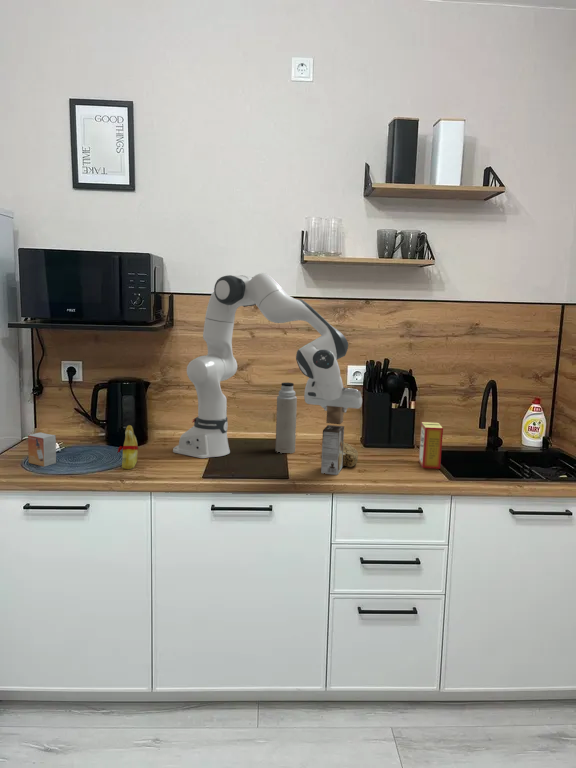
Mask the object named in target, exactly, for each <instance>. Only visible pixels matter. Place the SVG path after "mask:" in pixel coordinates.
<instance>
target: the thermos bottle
mask: <svg viewBox="0 0 576 768" xmlns="http://www.w3.org/2000/svg"><path fill="white" fill-rule="evenodd" d="M280 385H281V387H280V388H281V389H280V390H279V391H278V395H277V396H276V418H275V422H276V424H275V452H276V451H277V452H276V453H278V452H280V453H279V454H282V453H290V454H293V453H296V437H297V435H296V432H297V431H296V429H297V410H298V408H297V405H298V397H297V396H296V395H297V394H296V391H295V390H294V386H295V384H294V383H293V382H281V384H280Z"/></svg>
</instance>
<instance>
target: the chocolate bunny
mask: <svg viewBox="0 0 576 768" xmlns="http://www.w3.org/2000/svg"><path fill="white" fill-rule="evenodd" d="M124 434H125V436H124V441H123V446H121V445H120V446H119V447H118V448H117V453H116V454H119V453H120V452H121V451H122V457H121V468H122V469H123V470H124V469H125V470H131V469H132V470H133V469H134V468H135V465H136V464H137V462H138V450H139V446H138V440H137V437H136V434H135V430H134V427H133V426H132V425H130V424H128V425H127V426H126V428H125V432H124Z"/></svg>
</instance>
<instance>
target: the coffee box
mask: <svg viewBox="0 0 576 768" xmlns="http://www.w3.org/2000/svg"><path fill="white" fill-rule="evenodd" d="M344 433H345V426H344V425H336V424H327V425H326V427H324V429H322V437H321V439H322V441H321V443H322V445H321V462H320V463H321V466H320V468H321V469H320V470H321V471H320V473H321V474H324V473H325V474H326V475H333V476H338V475H339V474H340V472H341V470H342V469H343V466H342V464H343V442H345V441H344V440H345V439H344V437H345V434H344ZM325 474H324V475H325Z"/></svg>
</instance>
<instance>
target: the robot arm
mask: <svg viewBox="0 0 576 768" xmlns="http://www.w3.org/2000/svg"><path fill="white" fill-rule="evenodd" d="M282 287H283V286H281V285H280V284H279V283H278V282H277V281H276V280H275V279H274V278H273V276H271V275H270V274H268V273H267V272H261V273H258V274H255V275H254V276H248V275H228V274H227V275H223V276H221V277H219V278H217V280H216V282H215V284H214V288H213V292H212V293H211V295H210V297H209V298H208V299H209V300H208V303H207V306H206V311H205V317H204V325H203V333H202V337H203V341H205V343H206V347H207V353H206V355H200V356H197V357H196V358H194V359H192V360H191V361H189V363H188V364H187V366H186V375H187V377H188V380H189V381H190V382H191V383H192V384H193V386H194V389H195V391H196V395H197V407H198V408H197V413H198V414H197V416H196V417H194V419H192V420H191V423H193V426H192V427H190V428H189V429H188V430H186V431H185V432H183V433H182V434H181V436H180V438H179V441H178V444H177V445H176V446H174V447H173V448H172V449H173V450H172V453H175V454H179V455H183V456H189V457H194V458H200V459H205V458H215V457H223V456H226V455H229V454H230V453H231V450H230V447H229V446H230V445H229V440H228V428H229V427H228V423H229V421H228V416H227V409H228V408H227V405H228V403H227V402H228V400H227V399H228V398H227V396H226V395H225V394H224V393H223V390H222V388H221V382H224V381H227V380H228V379H230V378H232V377H233V376H235V374H236V373H237V370H238V362H237V359H236V357H234V354H233V332H234V326H235V318H236V312H237V310H238V309H239V307H244V308H245V307H253V306H256V307H257V308H258V309H259V311H260V313H261V314H262V315H263V316H264V317H265V319H267V320H268V321H269V322H271V323H274V324H285V323H291V322H295V321H302V322H306V323H308V324H309V325H310V326H311V327H312V328H313V329H314V330H315V331H317V332H318V334H319V335H321V336H319V337H317V338H315V339H314V340H312V341H310V342H308V343H306V344H305V345H303V346H302V347H300V348H299V349H297V351H296V355H295V360H296V363H297V365H298V368H299V370H300V372H301V373H302V374H303V375H304V376H305V377H307V378H308V379H307V381H306V384H305V388H304V395H303V396H304V402H305V404H308V405H312V406H313V405H315V406H320V407H321V408H322V409H323V410H324V411H325V412H327V406H335V407H342V412H344V413H347V411H348V409H357V410H359V409H360V408H362V405H363V398H362V397H363V396H362V392H361V391H360V390H358V389H357V388H352V387H351V388H350V387H344V383H343V379H342V376H341V369H340V366H339V362H338V360H340V359H341V358H344V357H345V356H346V355H347V352H348V349H349V342H348V340H347V338H346V336H345V335H344V334H343V333H342V332H341V331H340V330H338V329H337V328H336V327H334V326H333V325H331V323H329V322H328V321H327V320H326V319H325V318H324V317H323V316H322V315H321V314H320V313H319V312H318V311H316V310H315V309H314V308H313V307H312V306H311V305H310V304H309V303H307V302H306V301H305V300H303V299H299V298H294V297H292V296H291V295H289V294H288V293H287V292H286V290H284V288H282Z"/></svg>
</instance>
